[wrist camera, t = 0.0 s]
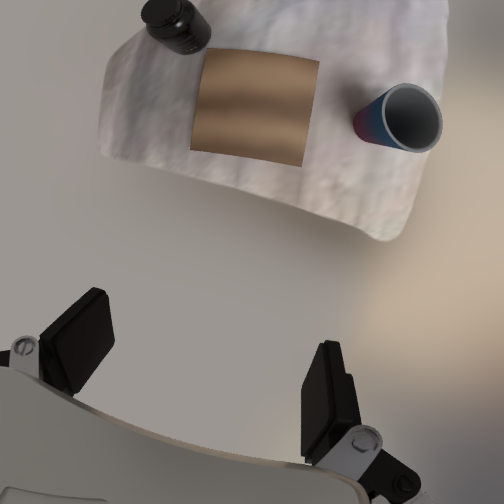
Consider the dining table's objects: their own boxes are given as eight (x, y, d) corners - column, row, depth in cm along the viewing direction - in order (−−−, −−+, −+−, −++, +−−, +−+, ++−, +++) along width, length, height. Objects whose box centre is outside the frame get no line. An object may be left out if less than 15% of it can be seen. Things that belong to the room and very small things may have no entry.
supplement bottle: (165, 31, 31) (129, 3, 20) (205, 13, 30) (179, -22, 19) (175, 63, 33) (138, 39, 22) (217, 46, 32) (192, 13, 21)
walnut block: (218, 60, 33) (207, 48, 28) (314, 73, 32) (319, 61, 27) (203, 149, 38) (189, 149, 33) (299, 164, 38) (301, 167, 32)
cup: (341, 137, 35) (372, 133, 21) (355, 96, 33) (391, 71, 19) (383, 156, 35) (432, 164, 21) (396, 115, 33) (449, 105, 19)
